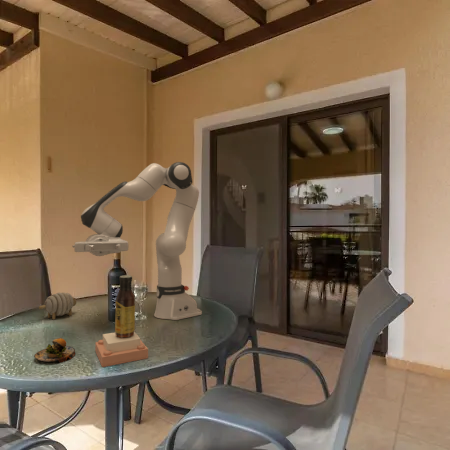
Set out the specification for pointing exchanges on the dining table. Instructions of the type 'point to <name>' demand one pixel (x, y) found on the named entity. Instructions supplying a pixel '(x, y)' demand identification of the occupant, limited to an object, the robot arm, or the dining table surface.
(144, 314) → the dining table surface
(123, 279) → the sauce bottle
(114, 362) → the brick stack
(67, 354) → the burger
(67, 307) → the toy sheep
